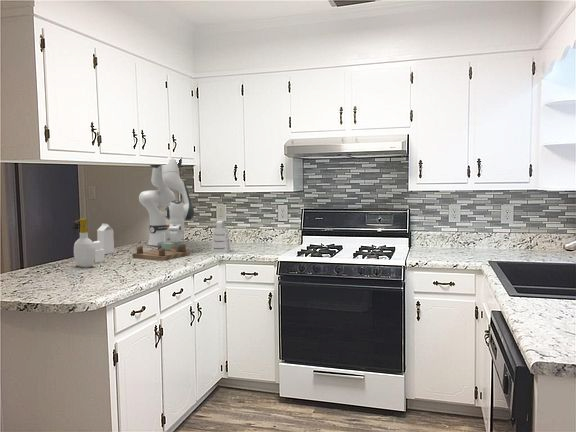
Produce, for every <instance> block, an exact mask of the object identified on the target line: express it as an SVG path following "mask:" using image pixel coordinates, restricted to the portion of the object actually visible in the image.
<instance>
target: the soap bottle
mask: <svg viewBox="0 0 576 432" xmlns="http://www.w3.org/2000/svg"><path fill="white" fill-rule="evenodd" d="M87 220H88V219H87V218H79V219H78V220H76V221H75V223H77V222H79V224H80V226H79V238H78V239H77V240H75V242H74V245H73V257H74V261H75V263H76V265H77V266H78V267H81V268H91V267H92V266H93V265H94V264H95V263H94V259H95V246H94V243H93V242H92V241H93V240H92V239H90V238H89V233H88V226H87Z"/></svg>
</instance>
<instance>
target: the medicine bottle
mask: <svg viewBox="0 0 576 432" xmlns="http://www.w3.org/2000/svg"><path fill="white" fill-rule="evenodd" d="M91 241H92V242H93V243H94V246H95V259H94V263H93V264H98V263H103V262H106V260H105V259H106V258H105V256H106V254H105V253H104V249H100V248H101V242H100V241H98V240H91Z"/></svg>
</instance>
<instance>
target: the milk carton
mask: <svg viewBox="0 0 576 432" xmlns="http://www.w3.org/2000/svg"><path fill="white" fill-rule="evenodd" d="M96 233H97V234H96V235H97V236H96V237H97V239H96V240H97V241H100V242H101V248H100V249H104V253H105V255H110V254H114V253H115V240H114V239H115V238H114V235H115V234H114V229H113V228H112V227H111V226H110V225H109V224H108V223H101V226H99V228H97V229H96Z"/></svg>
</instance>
